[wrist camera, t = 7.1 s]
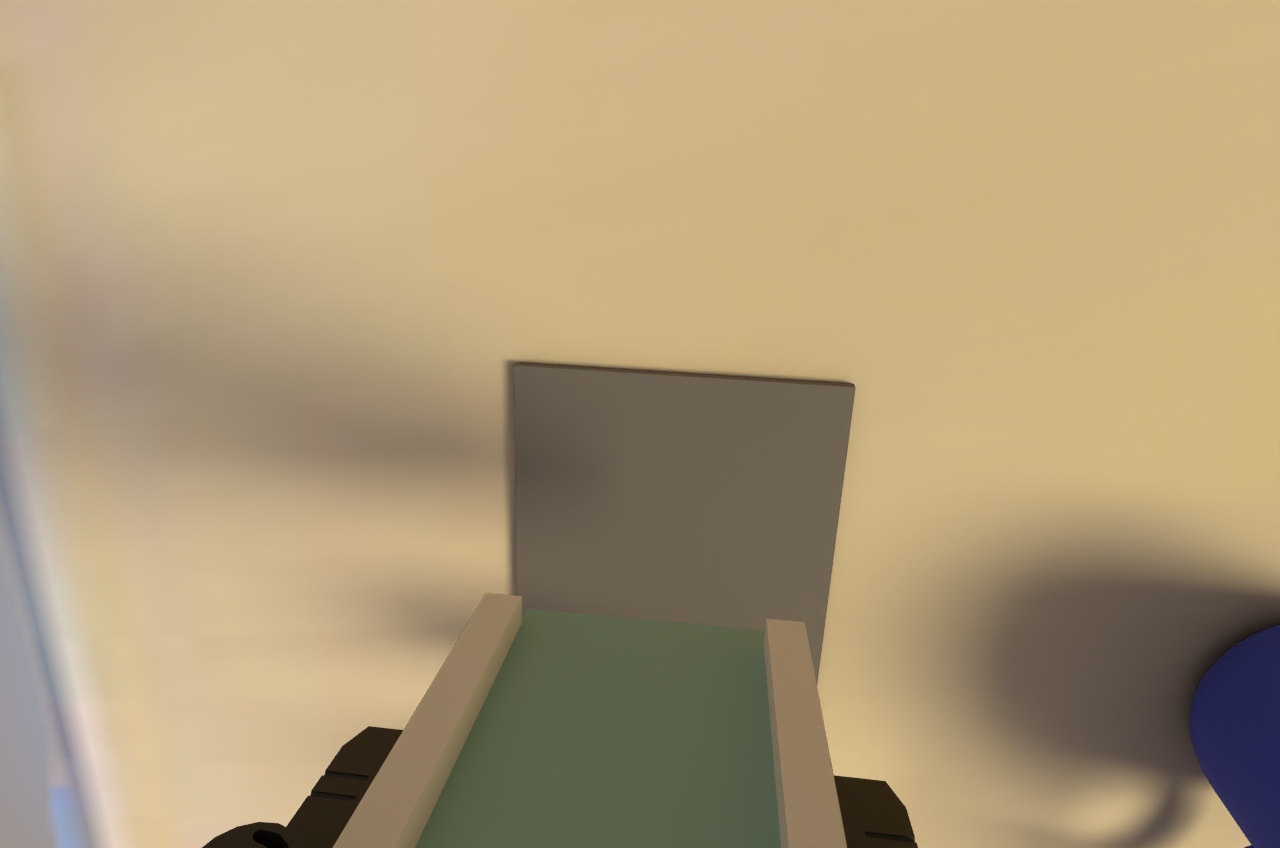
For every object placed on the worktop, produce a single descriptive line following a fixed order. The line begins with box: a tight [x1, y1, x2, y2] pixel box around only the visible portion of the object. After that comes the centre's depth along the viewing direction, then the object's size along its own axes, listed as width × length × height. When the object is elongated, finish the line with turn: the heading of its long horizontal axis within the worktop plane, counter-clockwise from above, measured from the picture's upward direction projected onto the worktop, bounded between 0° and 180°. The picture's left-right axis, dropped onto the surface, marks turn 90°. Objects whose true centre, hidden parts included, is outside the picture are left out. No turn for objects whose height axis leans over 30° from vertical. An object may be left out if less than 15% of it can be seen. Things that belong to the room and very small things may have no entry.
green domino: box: [415, 609, 781, 848], centre depth 11 cm, size 2×5×10 cm, turn 88°
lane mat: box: [514, 363, 855, 684], centre depth 27 cm, size 34×10×1 cm, turn 178°
